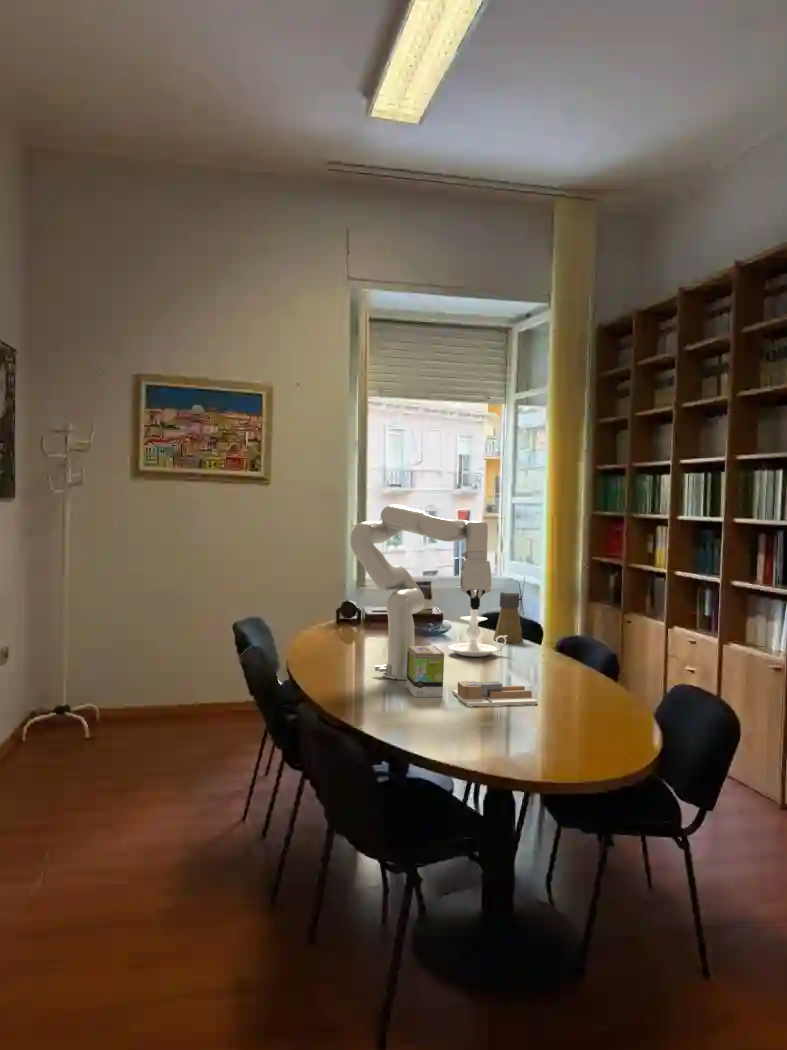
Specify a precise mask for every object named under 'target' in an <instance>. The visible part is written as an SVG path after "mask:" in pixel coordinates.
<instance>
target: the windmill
mask: <svg viewBox="0 0 787 1050" xmlns="http://www.w3.org/2000/svg"><path fill="white" fill-rule="evenodd" d="M525 581H526V578H525V576H524V578H523V585H522V590H519V592H516V593H515V592H513V593H512V592H510V593H508V592H502V591H501V592H500V595H499V608H500V611H499V615H498V620H497V623H496V627H495V631H494V634H493V637H492V638H493V640H494V639H495V640H496V638H497V637H498V636H505V635H507V637H506V642H516V644H517V643H518V642H519V643H523V642H524V639H523V634H522V633H523V629H522V626H521V619H520V617H521V613H522V616H525V612H524V605H523V596H524V590H525V589H524V588H525ZM518 587H519V589H521V582H518ZM518 608H520V609H518ZM521 611H522V612H521ZM495 640H494V641H495ZM498 641H502V642H501V643H504V642H505V640H504V638H502V637H500V638H498V640H497V642H498ZM522 641H523V642H522Z"/></svg>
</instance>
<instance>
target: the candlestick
mask: <svg viewBox="0 0 787 1050" xmlns="http://www.w3.org/2000/svg"><path fill="white" fill-rule="evenodd" d="M476 591H477V590H474V594H475V596H476ZM478 614H479V609H478V610H476V609H475V610H473V609H472V608H471V607H470V615H469V616H460V617H459V618H460V619H461V620H464V621H465V622H468V623H469V625H468V627H467V628H466V634H467V637H468V639H470V642H468V643H467V642H466V643H465V642H464V643H455V644H454V643H453V644H451V645H448V649H449V650H452V651H453V652H454V653H456V654H457V655H460V656H465V657H474V658H475V657H477V658H478V657H479V658H480V657H485V656H488V655H491V654H493V653H494V652H501V651H503V648H504V646H505V645H506V644H507V643H506V637H507V635H505V636H498V637H497V638H496V641H495V644H496V646H498V647H500V648H499V649H498V647H496V646H493V645H490V644H484V643H477V639H478V638H479V637H480V635H481V630H480V627H479V625H478V624H479V623H480V622H483V621H486V620H488V618H487V617H484V616H478ZM500 637H502V638H504V640H505V642H503V643H502V644H499V643H498V641H497V640H498V638H500Z"/></svg>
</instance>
